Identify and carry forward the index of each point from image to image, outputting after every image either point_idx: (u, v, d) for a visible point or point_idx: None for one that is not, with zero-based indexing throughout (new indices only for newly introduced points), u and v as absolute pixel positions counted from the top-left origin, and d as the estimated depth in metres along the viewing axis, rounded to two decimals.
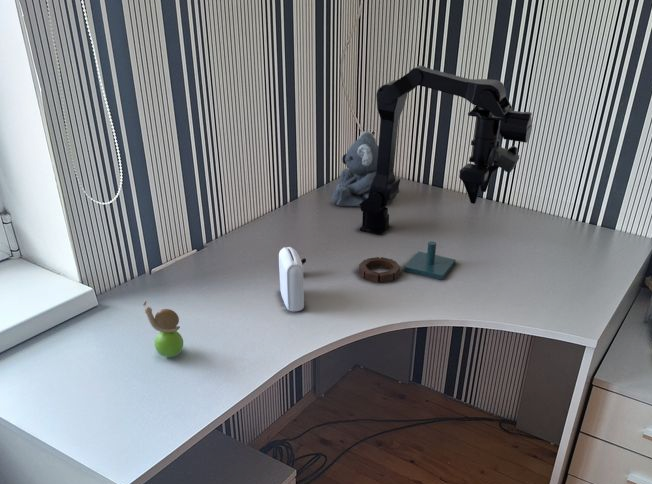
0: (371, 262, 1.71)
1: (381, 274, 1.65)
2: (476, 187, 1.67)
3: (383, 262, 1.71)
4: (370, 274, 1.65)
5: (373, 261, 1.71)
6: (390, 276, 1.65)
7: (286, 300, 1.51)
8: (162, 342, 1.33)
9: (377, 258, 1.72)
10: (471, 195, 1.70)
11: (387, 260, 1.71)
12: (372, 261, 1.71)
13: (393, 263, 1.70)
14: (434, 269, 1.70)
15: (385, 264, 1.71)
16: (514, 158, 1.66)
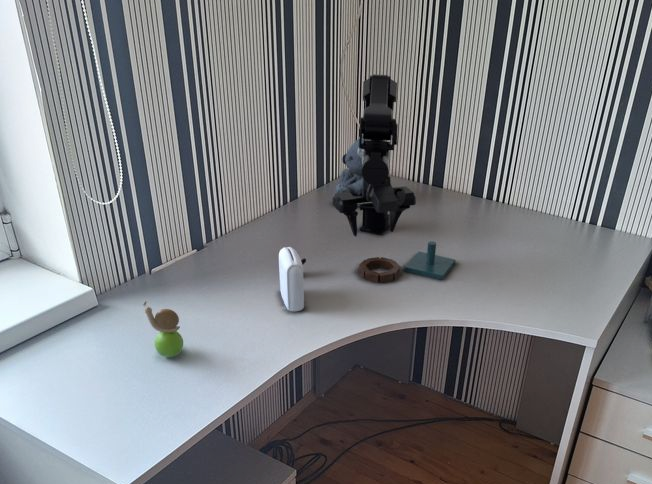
0: (371, 262, 1.71)
1: (381, 274, 1.65)
2: None
3: (383, 262, 1.71)
4: (370, 274, 1.65)
5: (373, 261, 1.71)
6: (390, 276, 1.65)
7: (286, 300, 1.51)
8: (162, 342, 1.33)
9: (377, 258, 1.72)
10: (351, 226, 1.61)
11: (387, 260, 1.71)
12: (372, 261, 1.71)
13: (393, 263, 1.70)
14: (434, 269, 1.70)
15: (385, 264, 1.71)
16: (386, 199, 1.51)
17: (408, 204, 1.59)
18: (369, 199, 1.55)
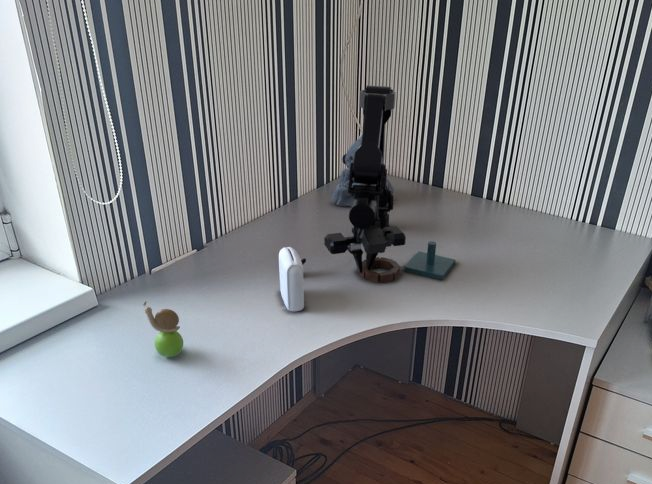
0: None
1: (381, 274, 1.65)
2: None
3: (383, 262, 1.71)
4: (370, 274, 1.65)
5: None
6: (390, 276, 1.65)
7: (286, 300, 1.51)
8: (162, 342, 1.33)
9: (377, 258, 1.72)
10: (356, 263, 1.66)
11: (387, 260, 1.71)
12: None
13: (393, 263, 1.70)
14: (434, 269, 1.70)
15: (385, 264, 1.71)
16: (375, 241, 1.55)
17: (398, 244, 1.63)
18: (359, 240, 1.59)
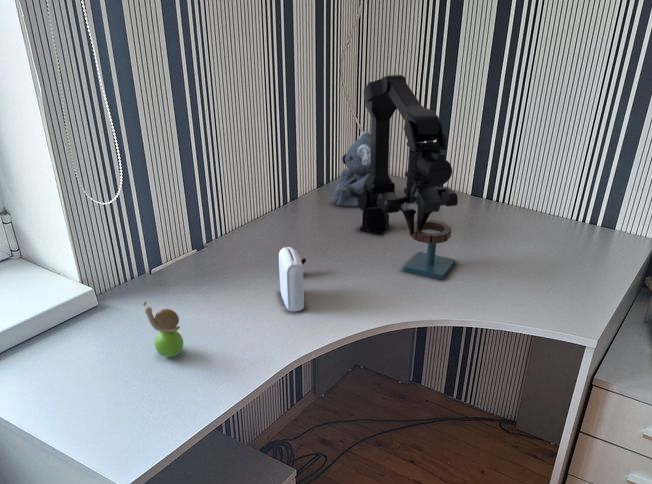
0: None
1: (433, 235, 1.63)
2: None
3: (433, 224, 1.70)
4: (421, 235, 1.64)
5: None
6: (442, 237, 1.64)
7: (286, 300, 1.51)
8: (162, 342, 1.33)
9: (427, 220, 1.71)
10: (408, 224, 1.65)
11: (437, 222, 1.70)
12: None
13: (444, 225, 1.69)
14: (434, 269, 1.70)
15: (435, 226, 1.70)
16: (431, 199, 1.54)
17: (450, 204, 1.62)
18: (413, 199, 1.58)
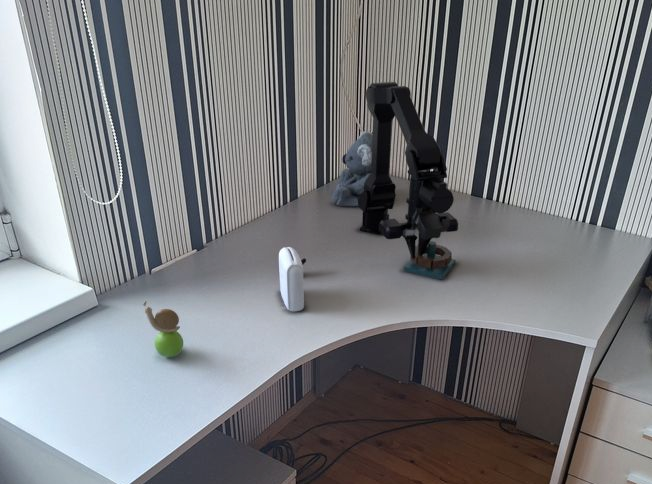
0: None
1: (434, 260, 1.67)
2: None
3: None
4: (423, 260, 1.67)
5: None
6: (443, 262, 1.68)
7: (286, 300, 1.51)
8: (162, 342, 1.33)
9: None
10: (409, 249, 1.69)
11: (438, 246, 1.74)
12: None
13: (445, 249, 1.72)
14: (434, 269, 1.70)
15: (436, 250, 1.74)
16: (432, 226, 1.58)
17: (451, 230, 1.66)
18: (414, 226, 1.62)
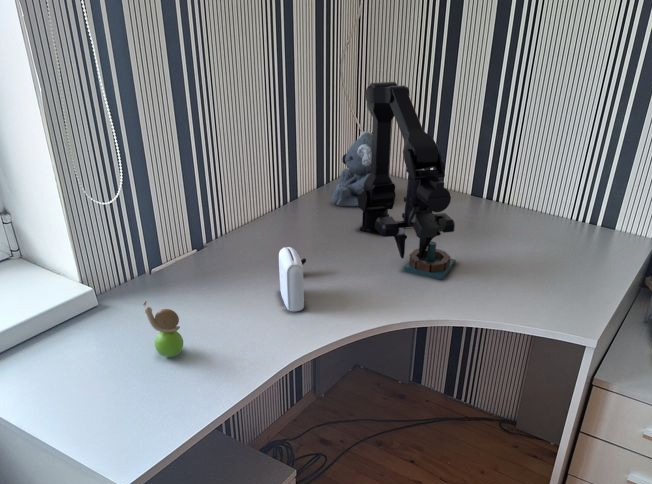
0: None
1: (433, 264, 1.68)
2: None
3: None
4: (421, 264, 1.68)
5: None
6: (441, 266, 1.68)
7: (286, 300, 1.51)
8: (163, 342, 1.33)
9: None
10: (399, 248, 1.68)
11: (436, 250, 1.74)
12: None
13: (443, 253, 1.73)
14: None
15: None
16: (428, 225, 1.57)
17: (447, 231, 1.66)
18: (411, 224, 1.61)
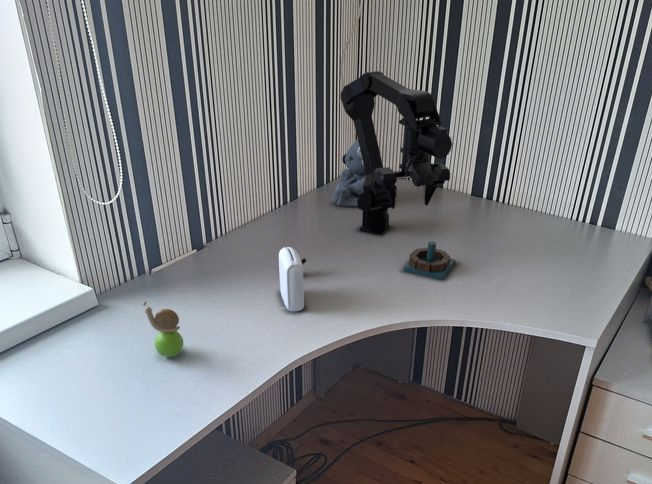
0: (421, 252, 1.74)
1: (433, 264, 1.68)
2: None
3: None
4: (421, 264, 1.68)
5: (423, 251, 1.74)
6: (441, 266, 1.68)
7: (286, 300, 1.51)
8: (162, 342, 1.33)
9: (426, 248, 1.75)
10: (389, 199, 1.73)
11: (436, 250, 1.74)
12: (421, 251, 1.74)
13: (443, 253, 1.73)
14: None
15: None
16: (424, 174, 1.64)
17: (443, 179, 1.72)
18: (408, 174, 1.67)
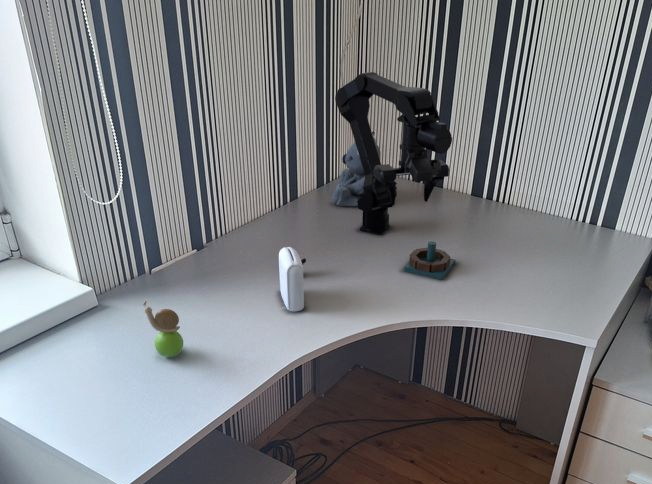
0: (421, 252, 1.74)
1: (433, 264, 1.68)
2: None
3: None
4: (421, 264, 1.68)
5: (423, 251, 1.74)
6: (441, 266, 1.68)
7: (286, 300, 1.51)
8: (162, 342, 1.33)
9: (426, 248, 1.75)
10: (389, 196, 1.74)
11: (436, 250, 1.74)
12: (421, 251, 1.74)
13: (443, 253, 1.73)
14: None
15: None
16: (423, 169, 1.65)
17: (442, 175, 1.73)
18: (407, 170, 1.68)
